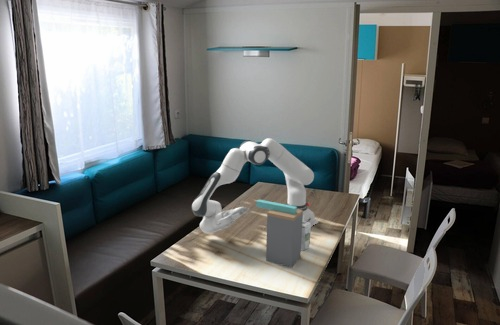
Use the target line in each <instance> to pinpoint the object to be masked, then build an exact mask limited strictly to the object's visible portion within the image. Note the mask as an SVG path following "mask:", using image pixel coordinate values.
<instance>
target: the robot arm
mask: <svg viewBox="0 0 500 325" xmlns="http://www.w3.org/2000/svg"><path fill="white" fill-rule="evenodd" d="M267 160H269V161H270V162H271V163H273V165H274V166H275V167H276V168H278V169H279V170H280V171H282V172H283V174H284V177H285V178H284V179H285V184H286V187H287V202H286V204H285V205H290V206H295V207H297V209H299V210H303V219H302V221H306V222H309V223H311V228H312V227H313V225H314V226H316V225H317V224H319V220H318V219H316V217H315V213H314V212H313V211H312V210H311V209H310V208H308V207H311V203H310V202H306V200H307V191H306V187H305V186H308V185H310V184H311V183H313V181H314V179H315V173H314V172H313V170H312V169H311V168H310V167H308V166H307V165H306V164H305V163H304V162H303V161H301V160H300V159H298V157H296V156H295V155H293V154H292V153H291V152H290V151H289V150H288V149H286V148H285V147H284V145H282V144H281V143H279V142H278V141H276V140H274V139H273V138H271V137H267V138H265V139H264V140H262V142H261V143H257V142H255V141H253V140H245V141H242V143H241V144H240V145H239V146H237V147H234V148H231V149H230V150H229V151H228V153H227V154H226V155H225V157H224V159H223V161H222V163H221V165H220V167H219V168H218V169H217V170H216V171H215V172H213V173H212V174H211V175H210V177H209V178H208V179H207V181H206V183H205V185H204V186H203V188H202V189H201V191H200V193H199V194H198V195H197V196H196V197H195V199H194V200H193V202H192V204H191V211H192V213H193V214H194V216H196V217H202V220H201V221H200V223H199V228H200V230H201V231H202V233H204V234H207V235H208V234H213V233H216V232H219V231H220V230H223V229H227V228H229V227H231V226H232V224H233V223H234V222H235V221H236V220H237V219H238V218H240V217H241V216H243V215H244V214H246V213H247V212H248V211H250V208H249V207H246V206H239V207H236V208H234V209H232V208H230V209H228V210H223V208H222V204H221V203H220V202H219V201H216V200H214V199H213V200H212V199H210V198H211V196H212V195H213V193H214V192H215V190H216V189H217V188H218V187H220V186H222V185H226V184H231V183H233V182H236V180H237V179H238V177H239V176H240V173H241V172H242V169H243V167H244V165H245V164H246V163H247V162H250V163H251V164H253V165H255V166H256V165H257V166H260V165H263V164H264V163H265V162H266V161H267ZM315 224H316V225H315Z"/></svg>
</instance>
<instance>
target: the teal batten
mask: <svg viewBox="0 0 500 325" xmlns="http://www.w3.org/2000/svg"><path fill="white" fill-rule="evenodd" d="M255 205H256V208H261V209H266V210H269V211H270V210H275V211H280V212H285V213H290V214H296V213H297V207H295V206H290V205H286V204H284V203H279V202H273V201H269V200H265V199H257V200H256V204H255Z"/></svg>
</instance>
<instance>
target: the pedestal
mask: <svg viewBox="0 0 500 325" xmlns="http://www.w3.org/2000/svg"><path fill="white" fill-rule="evenodd" d="M266 217H267V218H266V246H265V248H266V249H265V251H266V252H265V256H266V257H265V261H266V262H270V263H274V264H277V265H282V266H285V267H288V268H293V266H294V265H295V264H296V263H297V262H298V261H299V260H300V259H301V258H302V250H301V240H302V219H303V210H299V209H297V213H296V214H290V213H285V212H280V211H275V210H270V209H269V211H267V214H266Z"/></svg>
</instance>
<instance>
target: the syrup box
mask: <svg viewBox="0 0 500 325" xmlns="http://www.w3.org/2000/svg"><path fill="white" fill-rule="evenodd" d="M311 228H312V227H311V223H309V222H306V221H302V240H301V251H302V252H303V251H306V250H307V249H309V248H310V242H311Z"/></svg>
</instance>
